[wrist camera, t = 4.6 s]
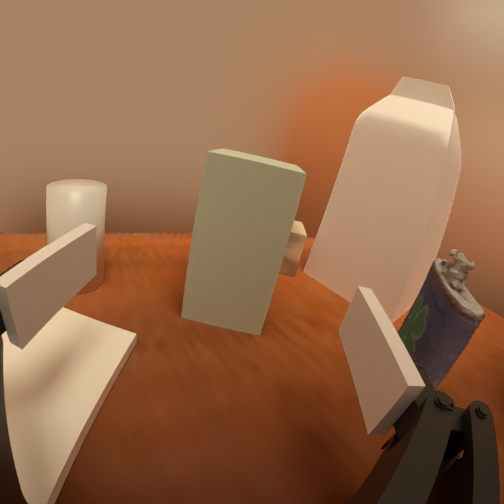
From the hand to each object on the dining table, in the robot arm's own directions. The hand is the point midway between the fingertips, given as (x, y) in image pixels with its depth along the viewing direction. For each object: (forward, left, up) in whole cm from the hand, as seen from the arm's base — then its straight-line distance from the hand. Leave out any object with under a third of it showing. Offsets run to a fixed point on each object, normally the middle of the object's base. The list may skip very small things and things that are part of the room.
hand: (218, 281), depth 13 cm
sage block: (0, -8, -7) cm, 11 cm away
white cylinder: (+13, -6, -7) cm, 16 cm away
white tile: (+12, +6, -7) cm, 14 cm away
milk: (-16, -18, -7) cm, 26 cm away
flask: (-14, -2, -7) cm, 16 cm away
